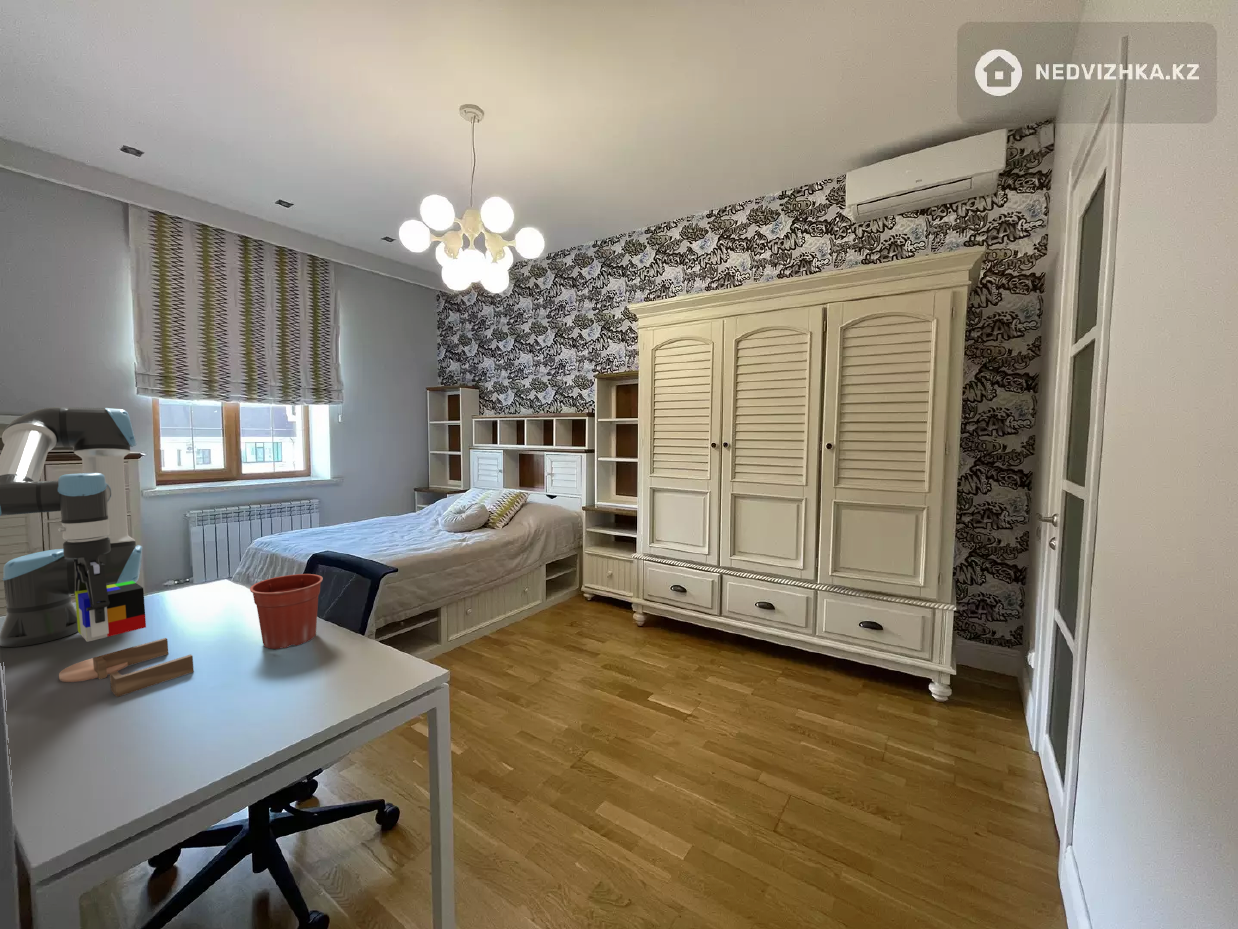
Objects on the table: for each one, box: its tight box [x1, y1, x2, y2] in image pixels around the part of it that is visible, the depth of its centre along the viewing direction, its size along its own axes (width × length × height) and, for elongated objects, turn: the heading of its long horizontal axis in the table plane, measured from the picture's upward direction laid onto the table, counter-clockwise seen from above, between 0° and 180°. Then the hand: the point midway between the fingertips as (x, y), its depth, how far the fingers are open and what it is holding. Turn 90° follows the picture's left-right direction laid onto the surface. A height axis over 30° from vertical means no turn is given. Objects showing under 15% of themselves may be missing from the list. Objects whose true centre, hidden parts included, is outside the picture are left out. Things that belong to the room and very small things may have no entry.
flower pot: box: [249, 573, 324, 650], centre depth 133 cm, size 16×16×16 cm
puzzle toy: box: [74, 581, 147, 643], centre depth 119 cm, size 10×10×10 cm
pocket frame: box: [92, 637, 195, 698], centre depth 115 cm, size 18×13×4 cm
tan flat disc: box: [58, 657, 129, 683], centre depth 117 cm, size 12×12×1 cm
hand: (93, 630), depth 116 cm, fingers closed on puzzle toy, 10 cm apart
